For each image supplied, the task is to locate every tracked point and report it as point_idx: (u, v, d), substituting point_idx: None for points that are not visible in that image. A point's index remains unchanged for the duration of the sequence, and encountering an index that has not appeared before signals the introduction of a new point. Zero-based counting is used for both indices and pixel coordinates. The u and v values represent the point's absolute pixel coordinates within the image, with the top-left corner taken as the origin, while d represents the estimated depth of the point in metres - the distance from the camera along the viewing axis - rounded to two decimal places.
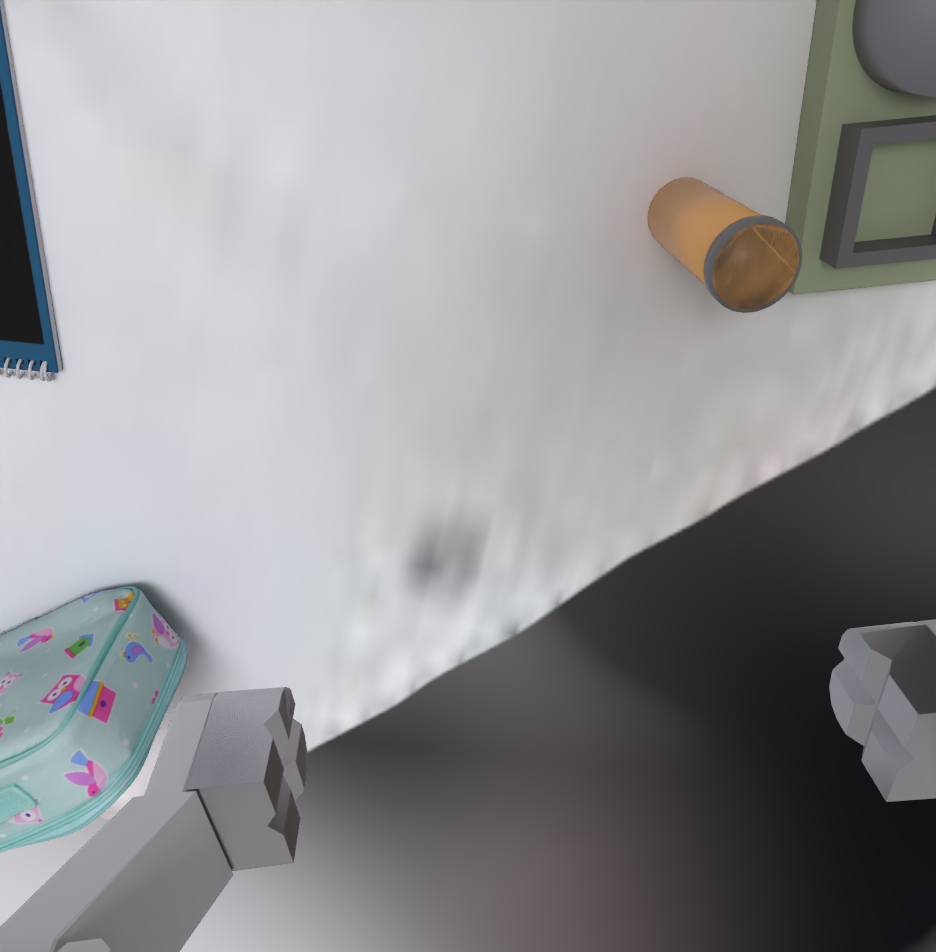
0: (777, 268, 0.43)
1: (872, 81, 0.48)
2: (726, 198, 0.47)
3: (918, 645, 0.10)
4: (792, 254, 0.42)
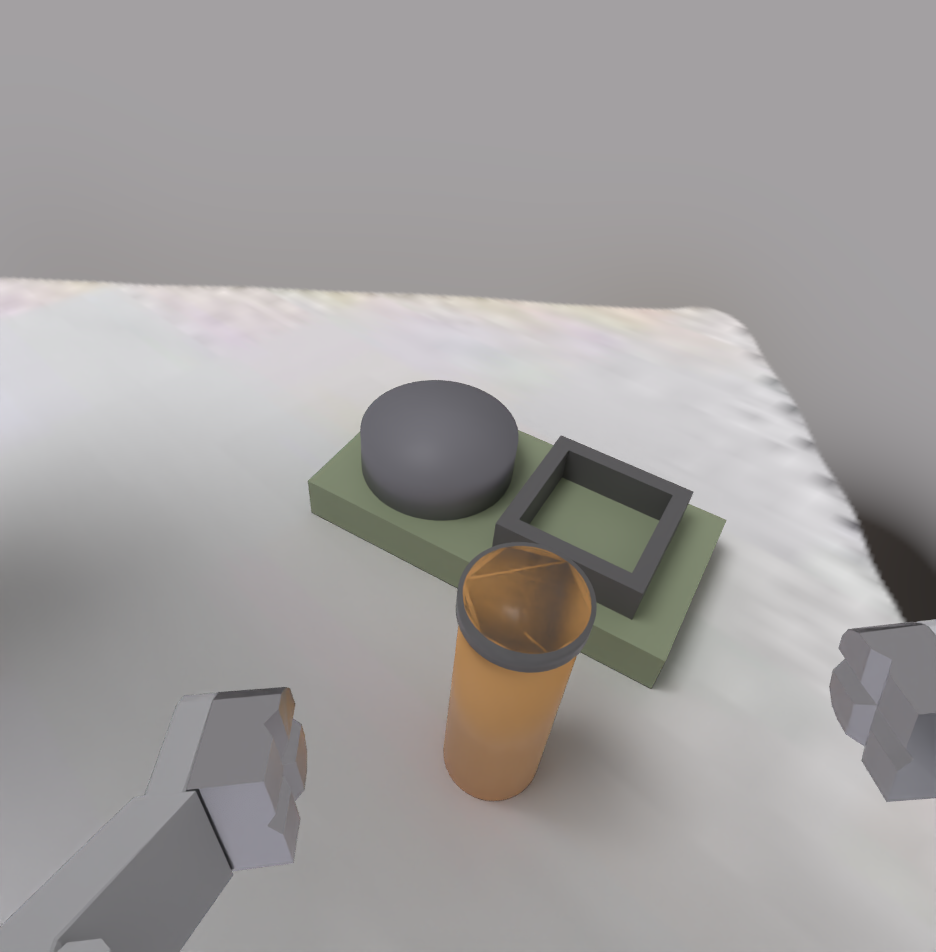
0: (545, 575, 0.29)
1: (468, 517, 0.46)
2: None
3: (919, 645, 0.10)
4: (538, 554, 0.30)
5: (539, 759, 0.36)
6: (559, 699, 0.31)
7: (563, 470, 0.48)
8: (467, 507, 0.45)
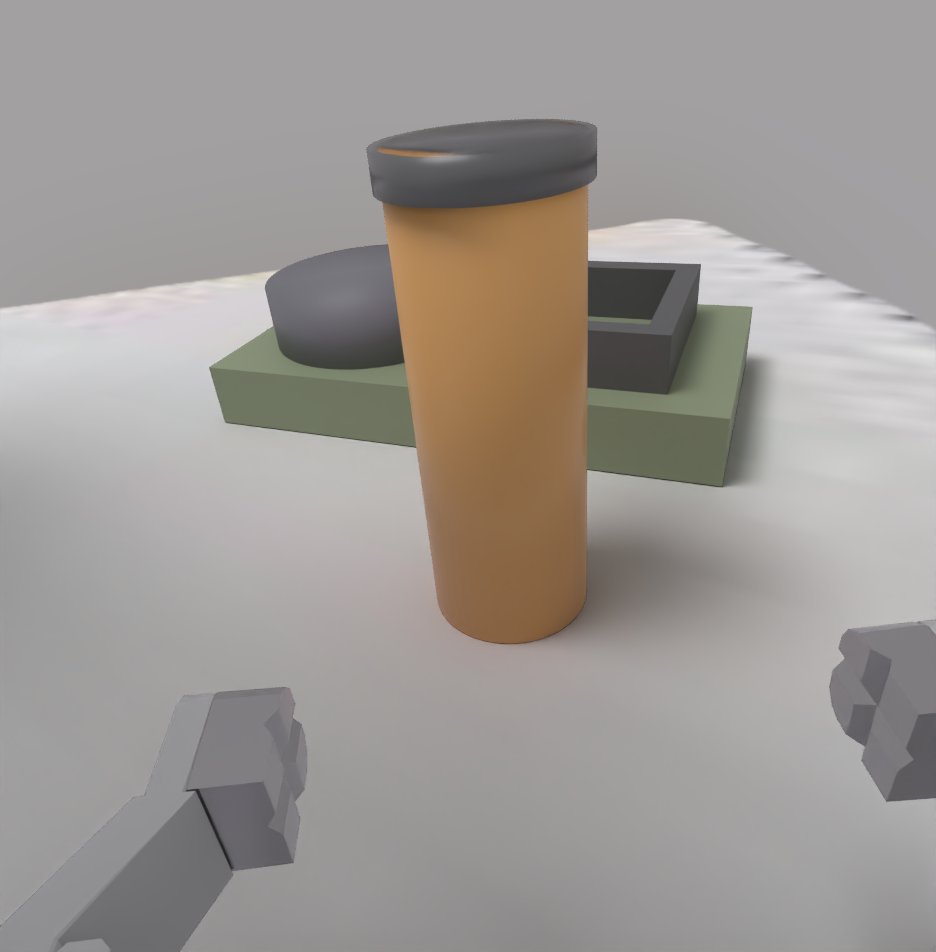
0: (506, 127, 0.18)
1: None
2: None
3: (918, 645, 0.10)
4: (489, 124, 0.19)
5: (583, 548, 0.23)
6: (581, 358, 0.19)
7: None
8: None
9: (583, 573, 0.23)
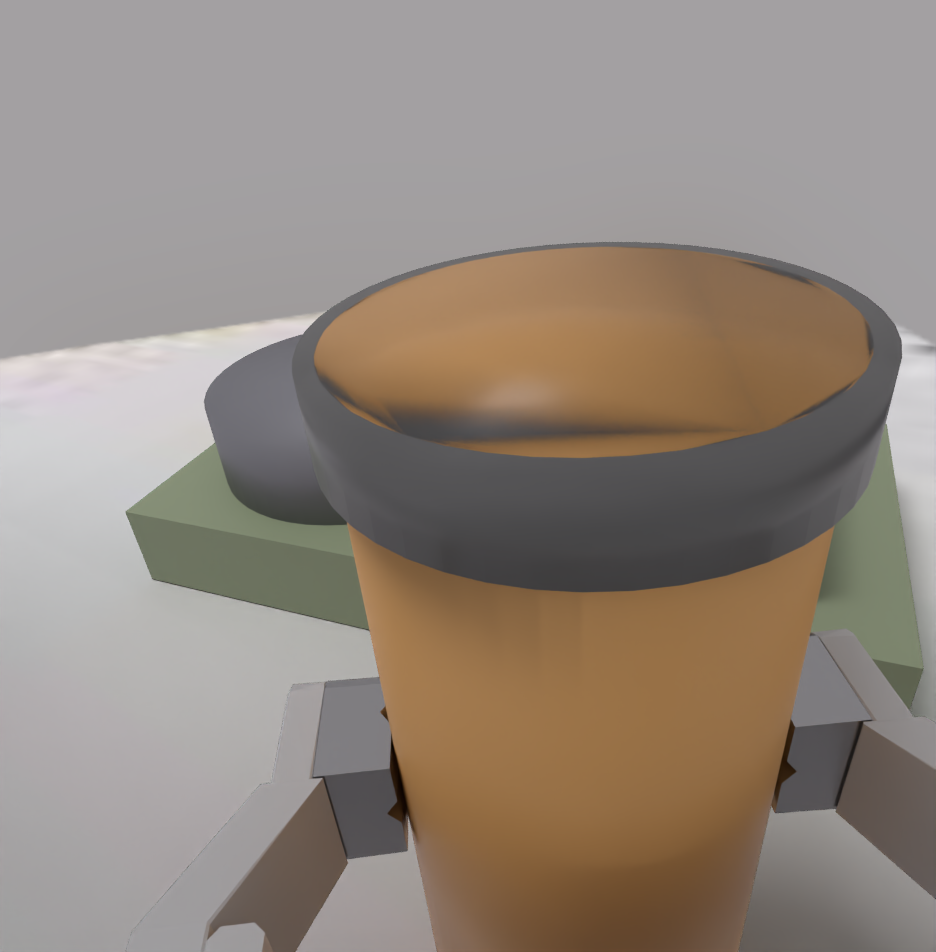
0: (625, 278, 0.08)
1: None
2: None
3: (806, 656, 0.10)
4: (577, 256, 0.09)
5: None
6: (778, 769, 0.09)
7: None
8: None
9: None
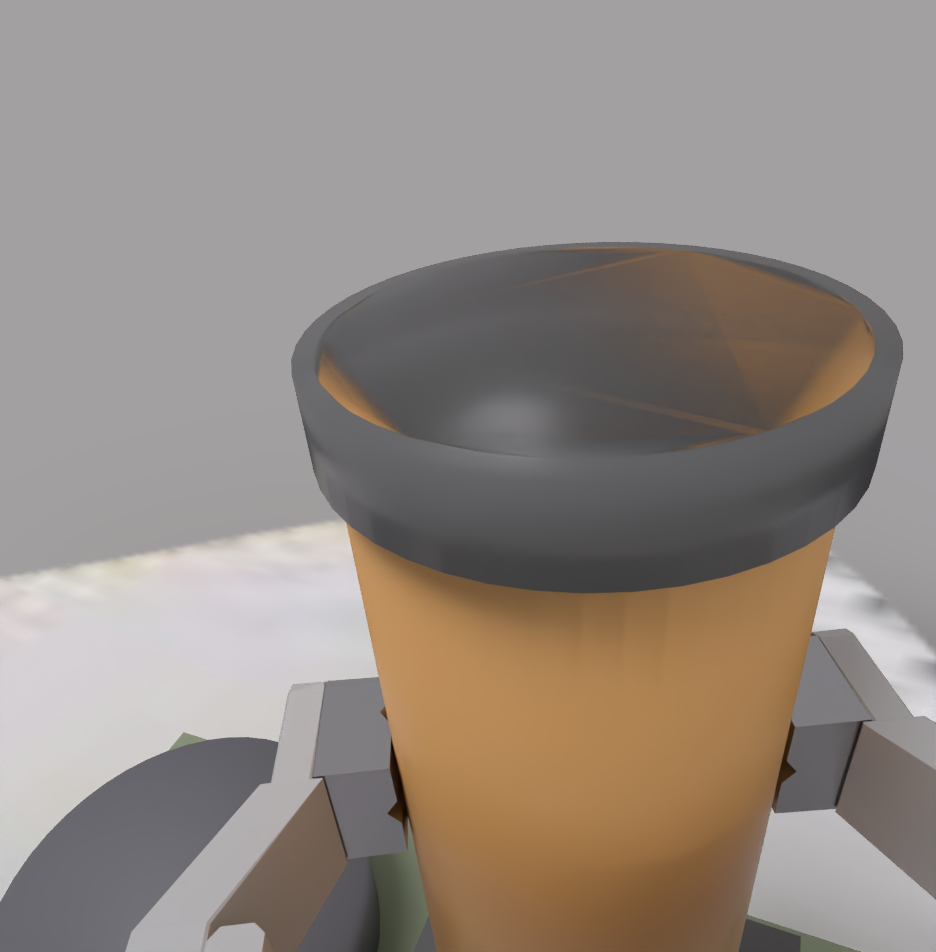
0: (626, 278, 0.08)
1: None
2: None
3: (806, 656, 0.10)
4: (578, 256, 0.09)
5: None
6: (778, 770, 0.09)
7: None
8: None
9: None
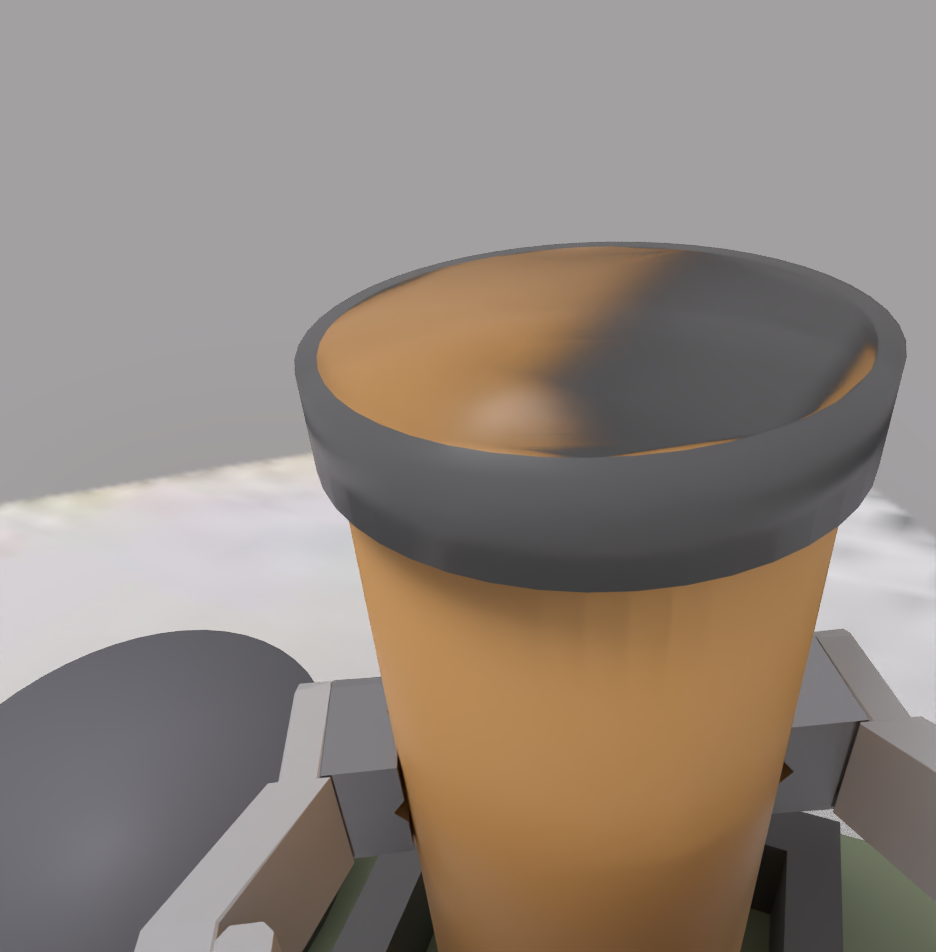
0: (628, 277, 0.08)
1: None
2: None
3: None
4: (580, 256, 0.09)
5: None
6: (781, 769, 0.09)
7: None
8: None
9: None
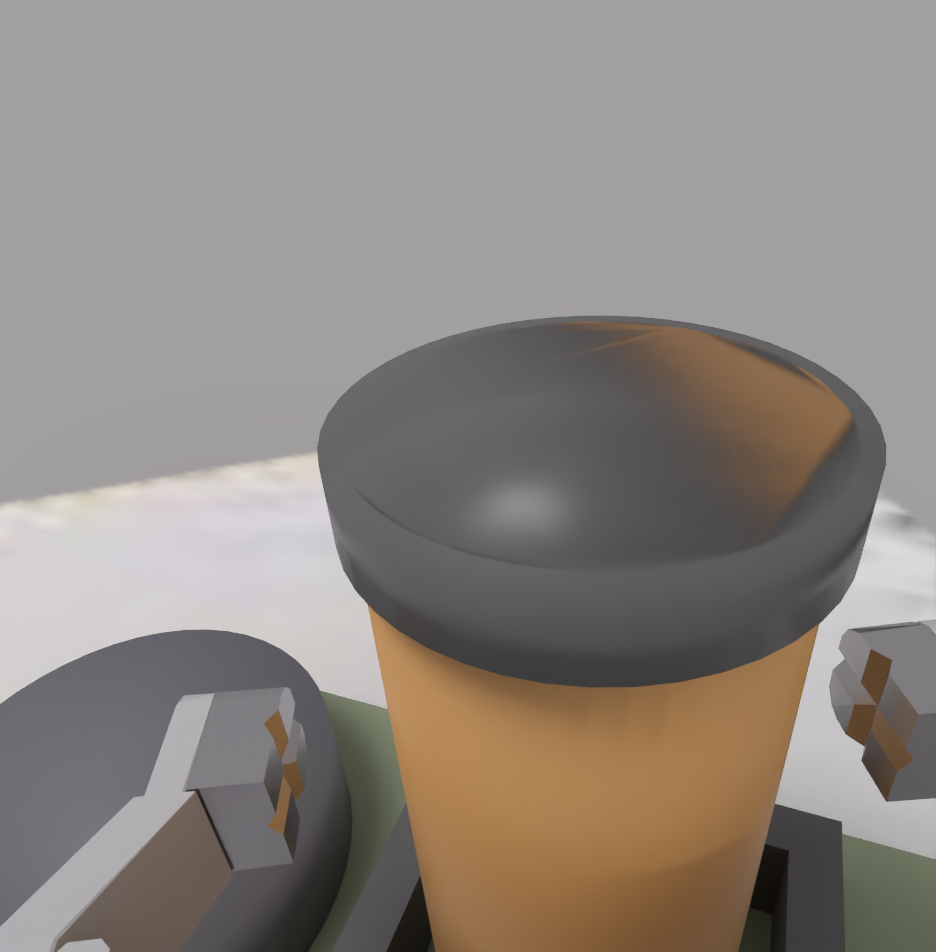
0: (629, 361, 0.08)
1: None
2: None
3: (918, 645, 0.10)
4: (583, 332, 0.09)
5: None
6: (769, 820, 0.09)
7: None
8: None
9: None
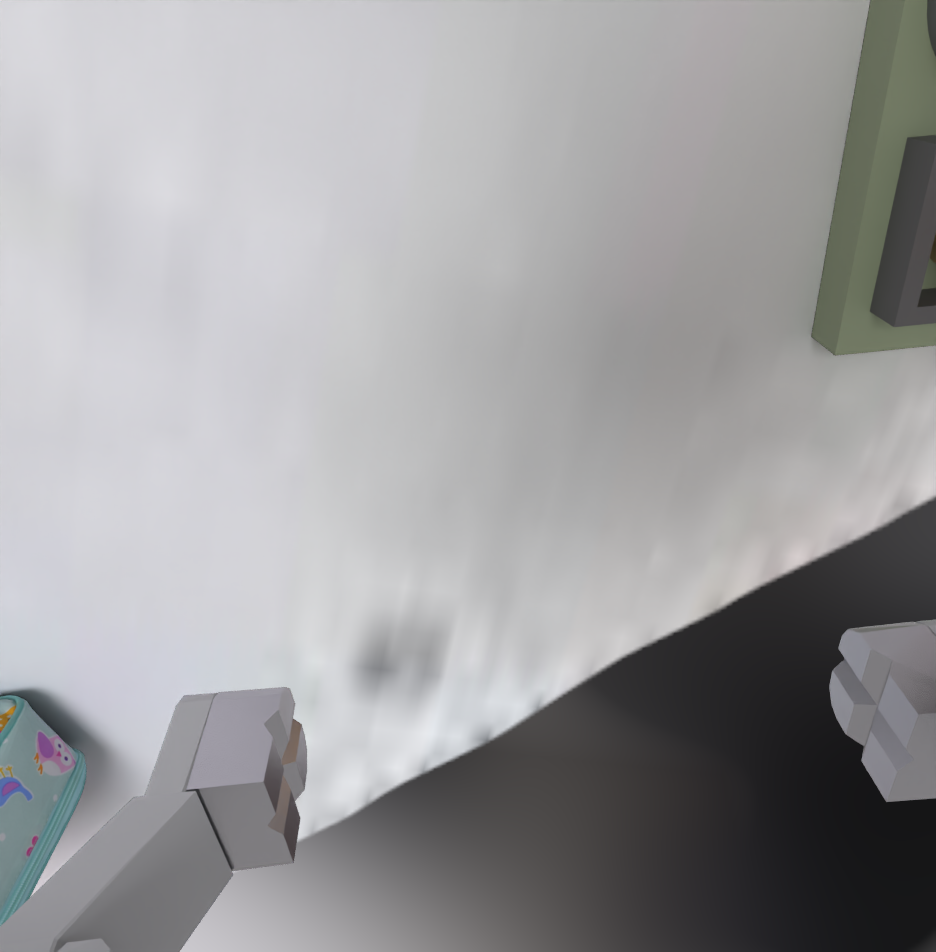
0: None
1: None
2: None
3: (918, 645, 0.10)
4: None
5: None
6: None
7: None
8: None
9: None
